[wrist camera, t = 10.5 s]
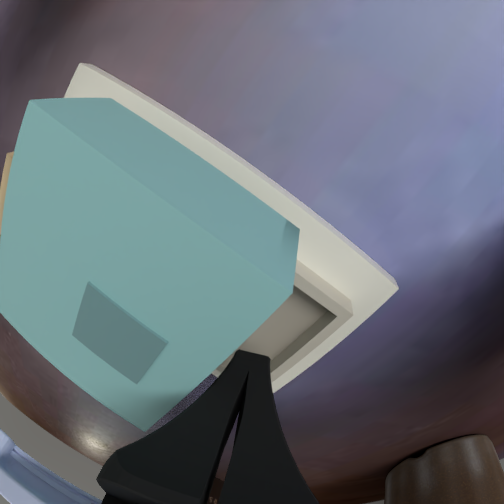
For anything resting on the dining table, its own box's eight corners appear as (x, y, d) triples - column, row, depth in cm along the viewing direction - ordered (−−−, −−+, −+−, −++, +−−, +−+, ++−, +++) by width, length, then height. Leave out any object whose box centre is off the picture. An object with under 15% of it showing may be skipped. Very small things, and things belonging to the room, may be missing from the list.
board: (394, 278, 14) (405, 302, 12) (263, 390, 18) (257, 416, 16) (91, 64, 12) (64, 60, 10) (36, 221, 16) (14, 233, 14)
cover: (299, 229, 11) (292, 295, 7) (176, 370, 15) (144, 433, 11) (110, 98, 10) (26, 100, 6) (50, 271, 14) (-2, 312, 10)
